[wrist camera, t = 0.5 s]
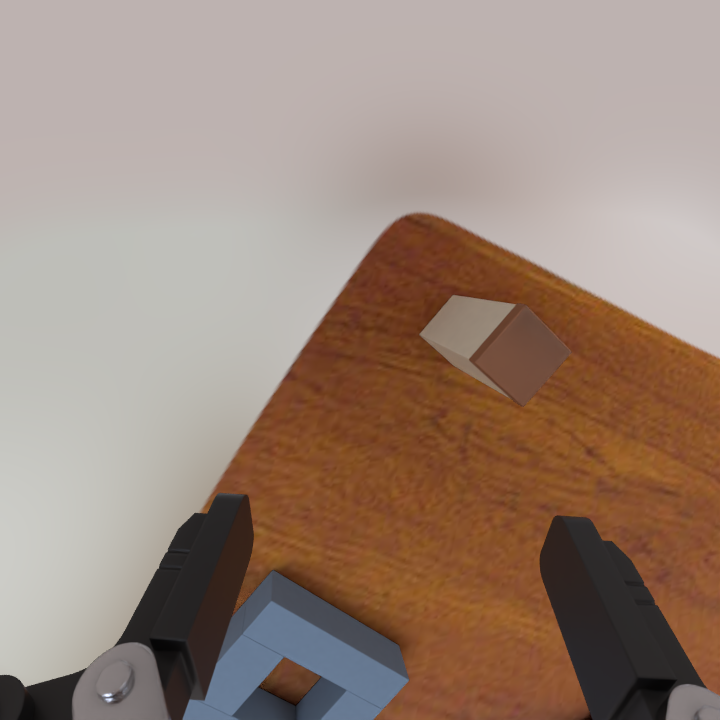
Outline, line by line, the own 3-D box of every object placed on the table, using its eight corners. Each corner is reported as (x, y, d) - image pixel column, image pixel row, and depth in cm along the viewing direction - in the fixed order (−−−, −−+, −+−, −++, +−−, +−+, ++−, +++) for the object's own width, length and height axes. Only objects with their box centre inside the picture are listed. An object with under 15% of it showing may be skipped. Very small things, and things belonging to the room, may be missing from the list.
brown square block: (417, 334, 29) (474, 362, 20) (453, 293, 28) (525, 303, 20) (454, 367, 30) (523, 407, 21) (488, 327, 29) (573, 352, 21)
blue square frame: (171, 686, 31) (159, 728, 28) (272, 569, 30) (271, 600, 28) (305, 748, 35) (307, 792, 32) (399, 645, 34) (409, 680, 31)
